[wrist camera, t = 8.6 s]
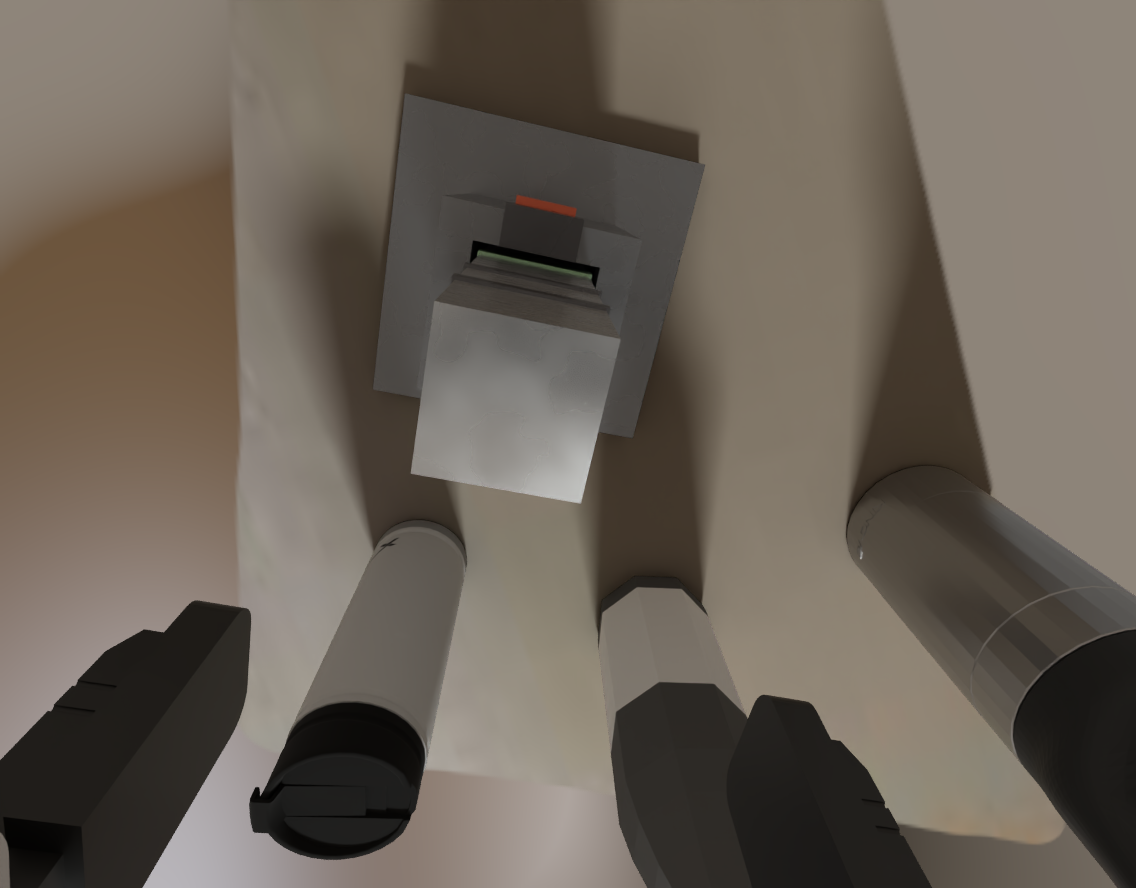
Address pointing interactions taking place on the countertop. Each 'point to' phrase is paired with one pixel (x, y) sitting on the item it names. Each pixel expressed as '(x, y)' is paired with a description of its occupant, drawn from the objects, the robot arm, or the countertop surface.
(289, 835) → the travel mug
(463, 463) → the block
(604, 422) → the stepped pedestal base
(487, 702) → the countertop surface
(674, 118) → the countertop surface
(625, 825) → the wine bottle
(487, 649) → the countertop surface
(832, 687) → the countertop surface
